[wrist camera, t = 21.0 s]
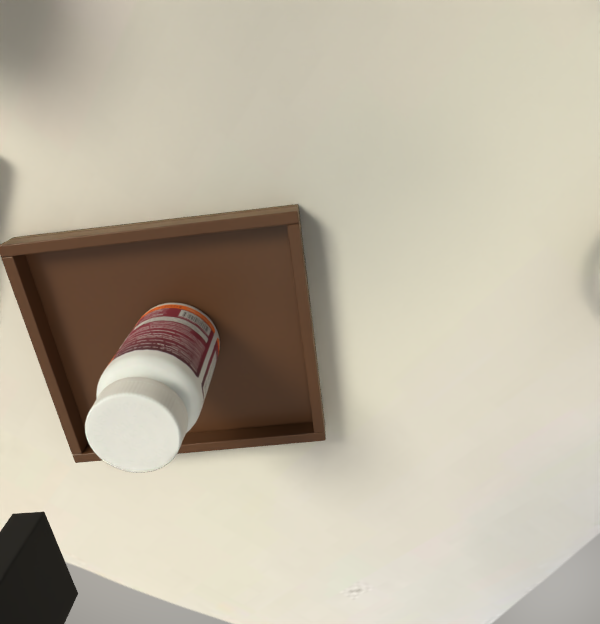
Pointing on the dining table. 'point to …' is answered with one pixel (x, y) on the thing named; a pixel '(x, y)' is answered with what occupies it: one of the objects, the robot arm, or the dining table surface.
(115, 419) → the pill bottle
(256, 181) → the dining table surface
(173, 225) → the tray
